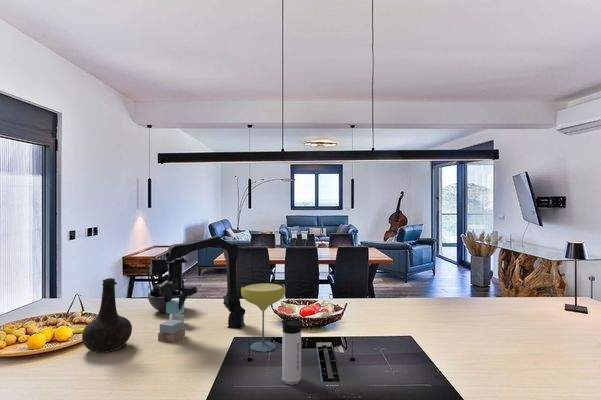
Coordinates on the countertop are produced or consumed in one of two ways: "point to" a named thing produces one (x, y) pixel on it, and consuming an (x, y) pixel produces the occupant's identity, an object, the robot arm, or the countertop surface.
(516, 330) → the countertop surface
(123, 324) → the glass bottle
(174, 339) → the walnut slab
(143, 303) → the countertop surface
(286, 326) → the travel mug
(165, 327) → the slate slab
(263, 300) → the cocktail glass
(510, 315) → the countertop surface
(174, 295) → the coal bowl
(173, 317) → the skincare box
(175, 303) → the teal cube
